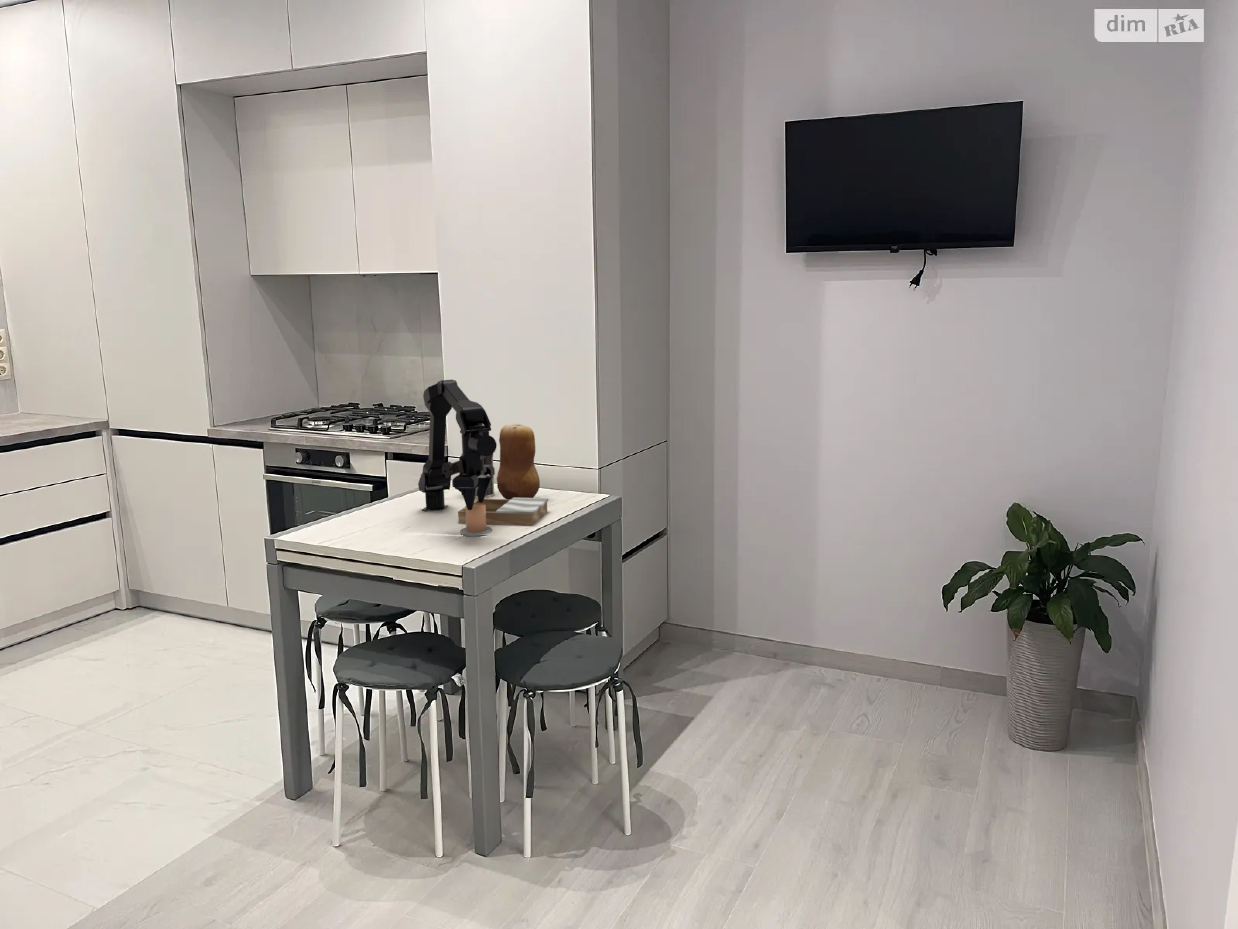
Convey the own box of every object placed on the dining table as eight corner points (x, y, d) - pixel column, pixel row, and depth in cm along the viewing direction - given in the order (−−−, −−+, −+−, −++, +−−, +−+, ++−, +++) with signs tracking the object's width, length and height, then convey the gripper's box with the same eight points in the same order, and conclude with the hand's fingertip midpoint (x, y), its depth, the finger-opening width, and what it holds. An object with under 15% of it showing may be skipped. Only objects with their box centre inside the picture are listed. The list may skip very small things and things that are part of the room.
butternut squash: (546, 498, 307) (543, 421, 303) (532, 507, 295) (529, 428, 290) (506, 496, 311) (502, 420, 306) (490, 505, 298) (487, 427, 293)
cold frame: (478, 511, 291) (477, 496, 290) (548, 513, 287) (548, 498, 286) (458, 525, 275) (457, 509, 274) (533, 527, 271) (533, 511, 270)
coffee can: (487, 499, 307) (485, 456, 304) (458, 497, 310) (455, 455, 307) (500, 492, 317) (498, 450, 314) (471, 491, 320) (469, 449, 317)
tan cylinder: (470, 527, 269) (469, 503, 268) (489, 527, 268) (488, 503, 267) (463, 532, 264) (462, 507, 263) (482, 532, 263) (481, 508, 262)
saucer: (466, 528, 271) (466, 525, 271) (496, 529, 270) (496, 526, 270) (455, 536, 263) (455, 533, 263) (486, 537, 261) (486, 534, 261)
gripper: (456, 445, 272) (459, 498, 275) (432, 456, 254) (435, 513, 257) (494, 445, 270) (496, 498, 273) (472, 457, 252) (474, 514, 255)
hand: (475, 506), depth 265 cm, fingers open, 9 cm apart
